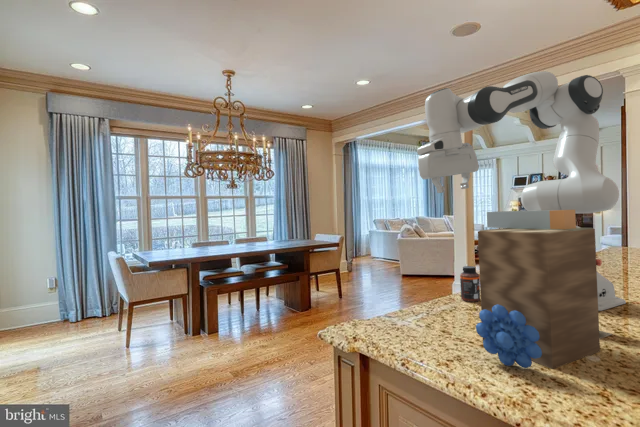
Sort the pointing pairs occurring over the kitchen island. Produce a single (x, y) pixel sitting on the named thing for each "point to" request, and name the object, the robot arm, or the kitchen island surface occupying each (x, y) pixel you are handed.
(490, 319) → the blue flower
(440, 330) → the kitchen island surface
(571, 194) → the robot arm
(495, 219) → the grey and tan bar
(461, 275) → the supplement bottle
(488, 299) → the tall wooden block
